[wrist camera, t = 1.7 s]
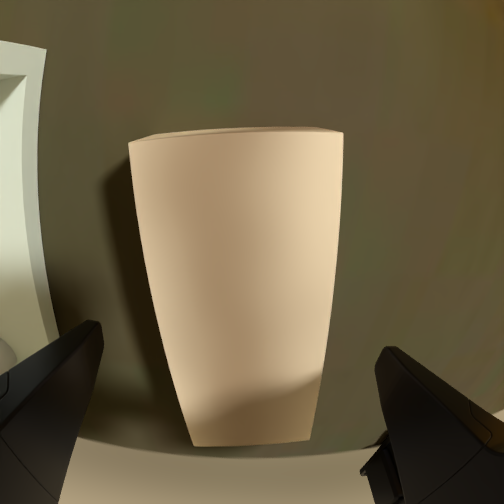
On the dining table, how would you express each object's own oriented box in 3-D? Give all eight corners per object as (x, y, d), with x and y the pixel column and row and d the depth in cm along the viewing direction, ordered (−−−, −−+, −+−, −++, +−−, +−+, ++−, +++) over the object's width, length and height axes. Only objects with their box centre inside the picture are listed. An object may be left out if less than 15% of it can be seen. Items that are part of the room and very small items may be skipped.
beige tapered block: (313, 126, 10) (343, 133, 7) (298, 391, 15) (309, 439, 12) (157, 133, 9) (128, 142, 7) (197, 396, 14) (193, 446, 12)
